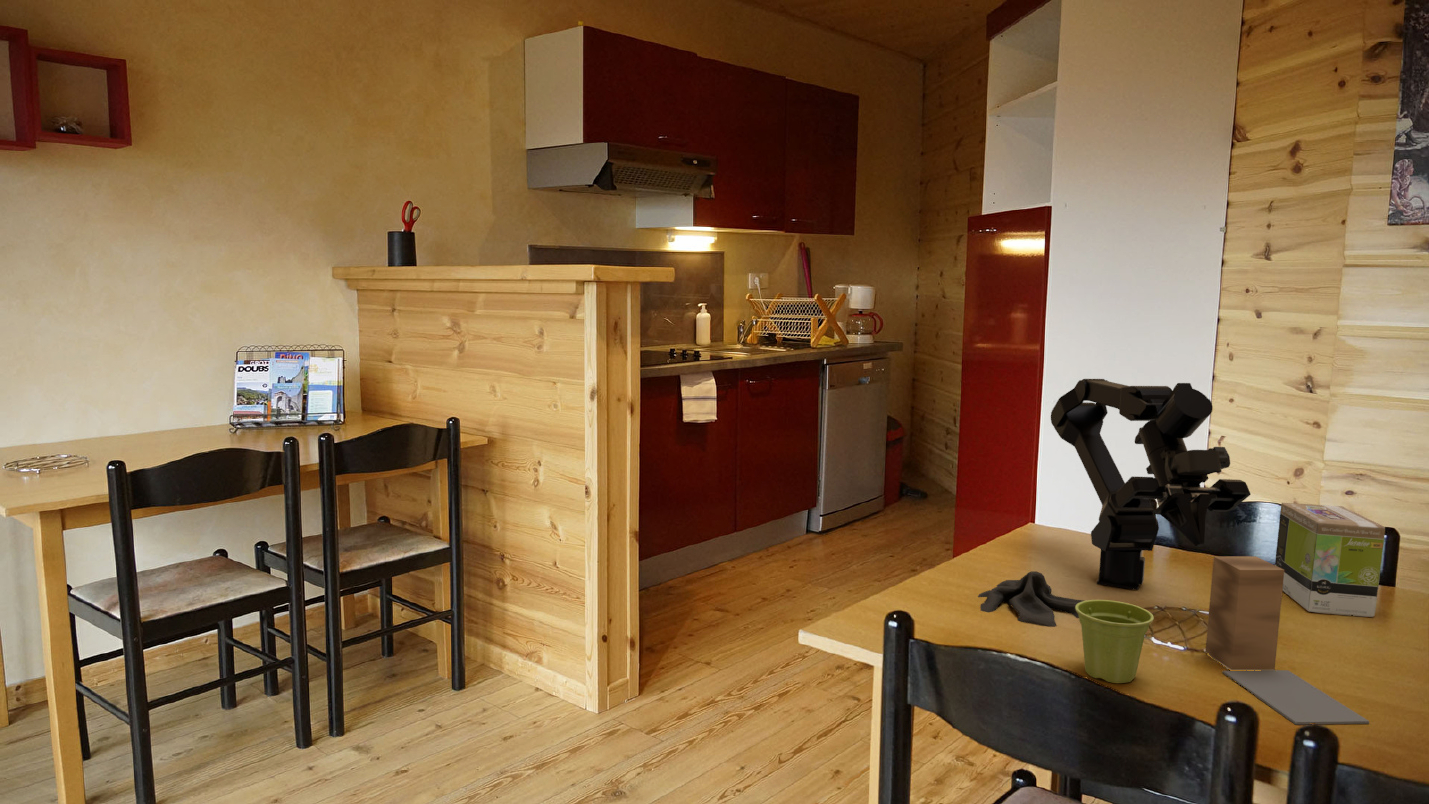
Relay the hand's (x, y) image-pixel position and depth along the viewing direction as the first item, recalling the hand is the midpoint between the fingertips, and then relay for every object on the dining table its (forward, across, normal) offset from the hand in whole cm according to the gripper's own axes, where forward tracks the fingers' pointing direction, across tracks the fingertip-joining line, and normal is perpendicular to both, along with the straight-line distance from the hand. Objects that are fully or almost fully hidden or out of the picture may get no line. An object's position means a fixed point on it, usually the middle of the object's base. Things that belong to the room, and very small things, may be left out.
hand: (1200, 545), depth 138 cm
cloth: (+2, -20, +19) cm, 28 cm away
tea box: (+2, +30, +16) cm, 35 cm away
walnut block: (+18, 0, 0) cm, 18 cm away
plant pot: (+20, -20, -1) cm, 29 cm away
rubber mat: (+25, -1, -8) cm, 26 cm away
